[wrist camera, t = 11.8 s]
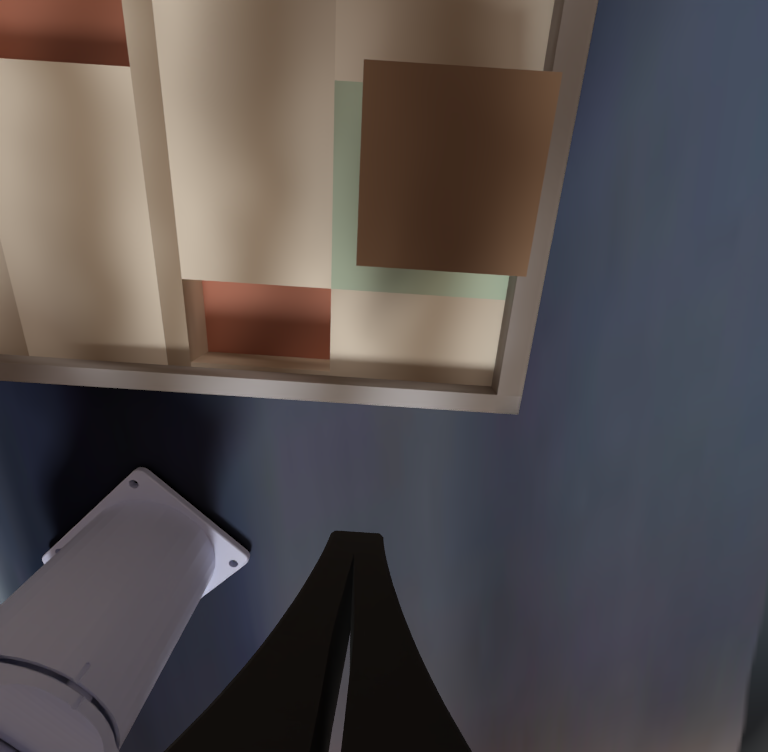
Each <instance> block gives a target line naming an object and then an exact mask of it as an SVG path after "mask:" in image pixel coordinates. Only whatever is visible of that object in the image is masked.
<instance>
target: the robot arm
mask: <svg viewBox="0 0 768 752" xmlns="http://www.w3.org/2000/svg"><path fill="white" fill-rule="evenodd" d="M134 480H135V481H137V482H138V484H137V483H135V482H134ZM249 558H250V553H249V552H248V550H246V549H245V548H244V547H243V546H242V545H240V544H239V543H238V542H237V541H235V540H234V539H233V538H232V537H231V536H229V535H228V534H227V533H226V532H224V531H223V530H222V529H221V528H220V527H218V526H217V525H216V524H215V523H213V522H212V521H211V520H210V519H209V518H207V517H206V516H205V515H204V514H202V513H201V512H200V511H199V510H198V509H196V508H195V507H194V506H193V505H191V504H190V503H189V502H188V501H186V500H185V499H184V498H183V497H182V496H180V495H179V494H178V493H177V492H175V491H174V490H173V489H172V488H171V487H169V486H168V485H167V484H166V483H164V482H163V481H162V480H161V479H160V478H158V477H157V476H156V475H155V474H153V473H152V472H151V471H150V470H148V469H147V468H144V467H138V468H137V469H135V470H134V471H133V472H132V473H131V474H130V475H129V476H128V477H126V478H125V479H124V480H123V481H122V482H121V483H120V484H119V485H118V486H117V487H116V488H115V489H114V490H113V491H112V492H111V493H109V494H108V495H107V496H106V497H105V498H104V499H103V500H102V501H101V502H100V503H99V504H98V505H97V506H96V507H95V508H93V509H92V510H91V511H90V512H89V513H88V514H87V515H86V516H85V517H84V518H83V519H82V520H81V521H80V522H79V523H78V524H76V525H75V526H74V527H73V528H72V529H71V530H70V531H69V532H68V533H67V534H66V535H65V536H64V537H63V538H62V539H60V540H59V541H58V542H57V543H56V544H55V545H54V546H53V547H52V548H51V549H50V550H49V551H48V552H47V553H46V554H45V555H43V557H42V561H43V563H44V565H43V566H42V567H41V568H40V569H39V570H38V571H37V572H36V573H35V574H34V575H33V576H31V577H30V578H29V579H28V580H27V581H26V582H25V583H24V584H23V585H22V586H21V587H20V588H19V589H17V590H16V591H15V592H14V593H13V594H12V595H11V596H10V597H9V598H8V599H7V600H6V601H5V602H3V603H2V604H1V605H0V752H119V749H120V747H121V746H122V744H123V742H124V740H125V738H126V736H127V734H128V733H129V731H130V729H131V727H132V725H133V723H134V721H135V719H136V718H137V716H138V714H139V712H140V710H141V708H142V706H143V705H144V703H145V701H146V699H147V697H148V695H149V693H150V692H151V690H152V688H153V686H154V684H155V682H156V680H157V679H158V677H159V675H160V673H161V671H162V669H163V667H164V666H165V664H166V662H167V660H168V658H169V656H170V654H171V652H172V651H173V649H174V647H175V645H176V643H177V641H178V639H179V638H180V636H181V634H182V632H183V630H184V628H185V626H186V625H187V623H188V621H189V619H190V617H191V615H192V613H193V612H194V610H195V608H196V606H197V604H198V602H199V600H200V598H202V597H203V596H204V595H206V594H207V593H208V592H210V591H211V590H212V589H214V588H215V587H216V586H218V585H219V584H220V583H222V582H223V581H224V580H225V579H227V578H228V577H229V576H231V575H232V574H233V573H235V572H236V571H237V570H239V569H240V568H241V567H243V566H244V565H245V564H246V563H247V562H248V560H249ZM233 560H235V561H237V562H235V561H233ZM350 630H351V632H350ZM349 635H350V676H349V685H348V694H347V704H346V713H345V722H344V731H343V739H342V748H341V752H472V751H471V749H470V748H469V746H468V744H467V743H466V741H465V739H464V737H463V736H462V734H461V732H460V730H459V729H458V727H457V725H456V723H455V722H454V720H453V718H452V717H451V715H450V713H449V711H448V710H447V708H446V706H445V704H444V702H443V700H442V698H441V696H440V695H439V693H438V691H437V689H436V687H435V685H434V683H433V681H432V679H431V677H430V675H429V673H428V671H427V669H426V667H425V664H424V662H423V660H422V658H421V656H420V654H419V651H418V649H417V647H416V645H415V642H414V640H413V638H412V635H411V633H410V630H409V628H408V625H407V623H406V620H405V618H404V615H403V612H402V610H401V607H400V604H399V601H398V598H397V595H396V592H395V589H394V586H393V583H392V579H391V576H390V572H389V568H388V564H387V560H386V556H385V550H384V543H383V537H382V536H381V535H380V534H379V533H364V532H348V531H334V532H333V533H331V535H330V537H329V540H328V542H327V544H326V546H325V549H324V551H323V553H322V555H321V556H320V558H319V560H318V562H317V564H316V566H315V567H314V569H313V571H312V572H311V574H310V576H309V577H308V579H307V581H306V582H305V584H304V585H303V587H302V589H301V590H300V592H299V594H298V595H297V597H296V598H295V600H294V601H293V603H292V604H291V605H290V607H289V608H288V610H287V611H286V613H285V614H284V615H283V617H282V618H281V620H280V621H279V623H278V624H277V625H276V627H275V628H274V630H273V631H272V632H271V633H270V635H269V636H268V637H267V639H266V640H265V641H264V643H263V644H262V645H261V646H260V648H259V649H258V650H257V651H256V653H255V654H254V655H253V656H252V658H251V659H250V660H249V661H248V663H247V664H246V665H245V666H244V667H243V668H242V670H241V671H240V672H239V673H238V674H237V675H236V676H235V678H234V679H233V680H232V681H231V682H230V683H229V684H228V686H227V687H226V688H225V689H224V690H223V691H222V692H221V694H220V695H219V696H218V697H217V698H216V699H215V700H214V701H213V702H212V703H211V704H210V705H209V707H208V708H207V709H206V710H205V711H204V712H203V713H202V714H201V715H200V716H199V717H198V718H197V719H196V720H195V721H194V722H193V723H192V724H191V725H190V726H189V727H188V728H187V729H186V730H185V731H184V732H183V733H182V734H181V735H180V736H179V737H178V738H177V739H176V740H175V741H174V742H173V743H172V744H171V745H170V746H169V747H168V748H167V749H166V750H165V751H164V752H329V745H330V739H331V732H332V726H333V721H334V716H335V710H336V705H337V700H338V694H339V689H340V684H341V678H342V673H343V668H344V662H345V657H346V652H347V646H348V641H349Z"/></svg>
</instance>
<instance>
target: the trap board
mask: <svg viewBox="0 0 768 752" xmlns="http://www.w3.org/2000/svg"><path fill="white" fill-rule="evenodd" d="M597 4H598V0H0V381H15V382H31V383H46V384H61V385H76V386H92V387H107V388H122V389H137V390H153V391H168V392H183V393H198V394H214V395H229V396H244V397H259V398H275V399H290V400H305V401H321V402H336V403H351V404H366V405H382V406H397V407H412V408H427V409H443V410H458V411H473V412H488V413H504V414H518V413H519V408H520V402H521V397H522V392H523V387H524V382H525V377H526V371H527V366H528V361H529V356H530V351H531V346H532V340H533V335H534V330H535V325H536V320H537V314H538V309H539V304H540V299H541V294H542V289H543V283H544V278H545V273H546V268H547V263H548V258H549V252H550V247H551V242H552V237H553V232H554V227H555V221H556V216H557V211H558V206H559V201H560V196H561V190H562V185H563V180H564V175H565V170H566V165H567V159H568V154H569V149H570V144H571V139H572V134H573V128H574V123H575V118H576V113H577V108H578V103H579V97H580V92H581V87H582V82H583V77H584V72H585V66H586V61H587V56H588V51H589V46H590V41H591V35H592V30H593V25H594V20H595V15H596V10H597ZM364 59H369V60H384V61H399V62H414V63H429V64H445V65H460V66H475V67H490V68H505V69H520V70H536V71H551V72H563V73H562V79H561V85H560V90H559V96H558V101H557V107H556V113H555V118H554V124H553V130H552V135H551V141H550V146H549V152H548V158H547V163H546V169H545V174H544V180H543V186H542V191H541V197H540V203H539V208H538V214H537V219H536V225H535V231H534V236H533V242H532V248H531V253H530V259H529V264H528V270H527V276H526V277H521V276H506V275H491V274H475V273H460V272H445V271H430V270H414V269H399V268H384V267H369V266H356V257H357V230H358V203H359V176H360V149H361V122H362V94H363V67H364Z"/></svg>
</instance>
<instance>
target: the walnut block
mask: <svg viewBox="0 0 768 752" xmlns="http://www.w3.org/2000/svg"><path fill="white" fill-rule="evenodd" d="M562 73H563V72H551V71H536V70H520V69H505V68H490V67H475V66H460V65H445V64H429V63H414V62H399V61H384V60H369V59H364V67H363V94H362V122H361V149H360V176H359V203H358V230H357V257H356V266H369V267H384V268H399V269H414V270H430V271H445V272H460V273H475V274H491V275H506V276H521V277H526V276H527V270H528V264H529V259H530V253H531V248H532V242H533V236H534V231H535V225H536V219H537V214H538V208H539V203H540V197H541V191H542V186H543V180H544V174H545V169H546V163H547V158H548V152H549V146H550V141H551V135H552V130H553V124H554V118H555V113H556V107H557V101H558V96H559V90H560V85H561V79H562Z"/></svg>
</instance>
